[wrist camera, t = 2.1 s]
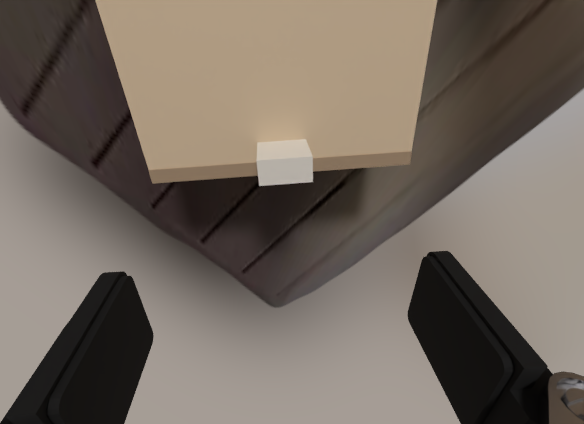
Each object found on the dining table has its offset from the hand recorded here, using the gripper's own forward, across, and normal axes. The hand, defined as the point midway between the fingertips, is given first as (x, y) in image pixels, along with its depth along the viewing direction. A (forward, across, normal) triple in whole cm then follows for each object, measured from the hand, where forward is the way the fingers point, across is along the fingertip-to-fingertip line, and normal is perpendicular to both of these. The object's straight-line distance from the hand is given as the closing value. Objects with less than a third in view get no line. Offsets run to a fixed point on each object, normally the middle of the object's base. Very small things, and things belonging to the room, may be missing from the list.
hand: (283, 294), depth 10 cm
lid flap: (+18, -1, -5) cm, 18 cm away
